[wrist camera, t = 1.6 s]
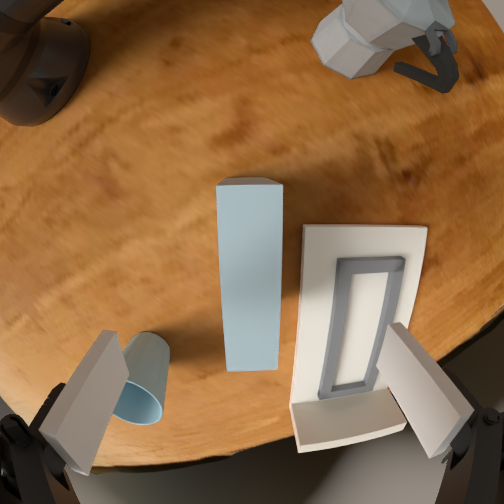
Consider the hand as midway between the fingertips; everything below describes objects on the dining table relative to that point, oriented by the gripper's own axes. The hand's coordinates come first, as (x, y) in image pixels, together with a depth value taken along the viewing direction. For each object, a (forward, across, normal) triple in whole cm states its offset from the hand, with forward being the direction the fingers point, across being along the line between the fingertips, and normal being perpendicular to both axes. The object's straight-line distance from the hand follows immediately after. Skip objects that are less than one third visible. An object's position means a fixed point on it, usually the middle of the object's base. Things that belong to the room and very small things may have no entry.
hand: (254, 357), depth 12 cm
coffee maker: (+19, +12, +22) cm, 32 cm away
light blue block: (+19, 0, 0) cm, 19 cm away
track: (+19, +14, -12) cm, 26 cm away
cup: (+19, -13, -14) cm, 27 cm away
